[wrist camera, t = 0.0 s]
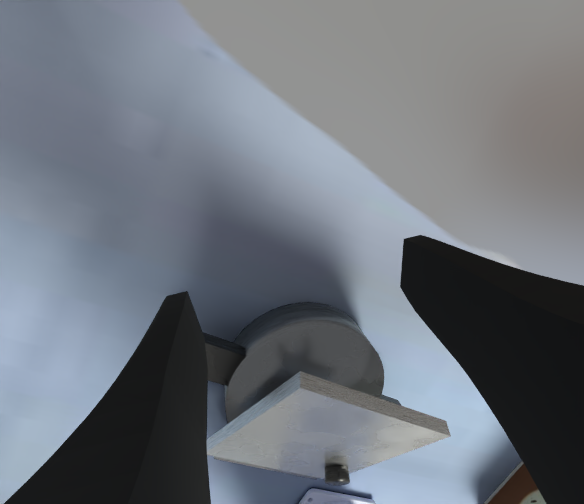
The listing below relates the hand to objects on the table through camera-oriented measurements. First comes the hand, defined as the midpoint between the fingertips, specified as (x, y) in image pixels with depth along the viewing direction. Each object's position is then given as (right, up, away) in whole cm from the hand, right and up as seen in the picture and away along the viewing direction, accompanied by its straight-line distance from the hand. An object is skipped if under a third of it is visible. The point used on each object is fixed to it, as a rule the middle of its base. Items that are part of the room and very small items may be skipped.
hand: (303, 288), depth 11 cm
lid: (+1, -10, +10) cm, 14 cm away
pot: (0, -8, +15) cm, 16 cm away
